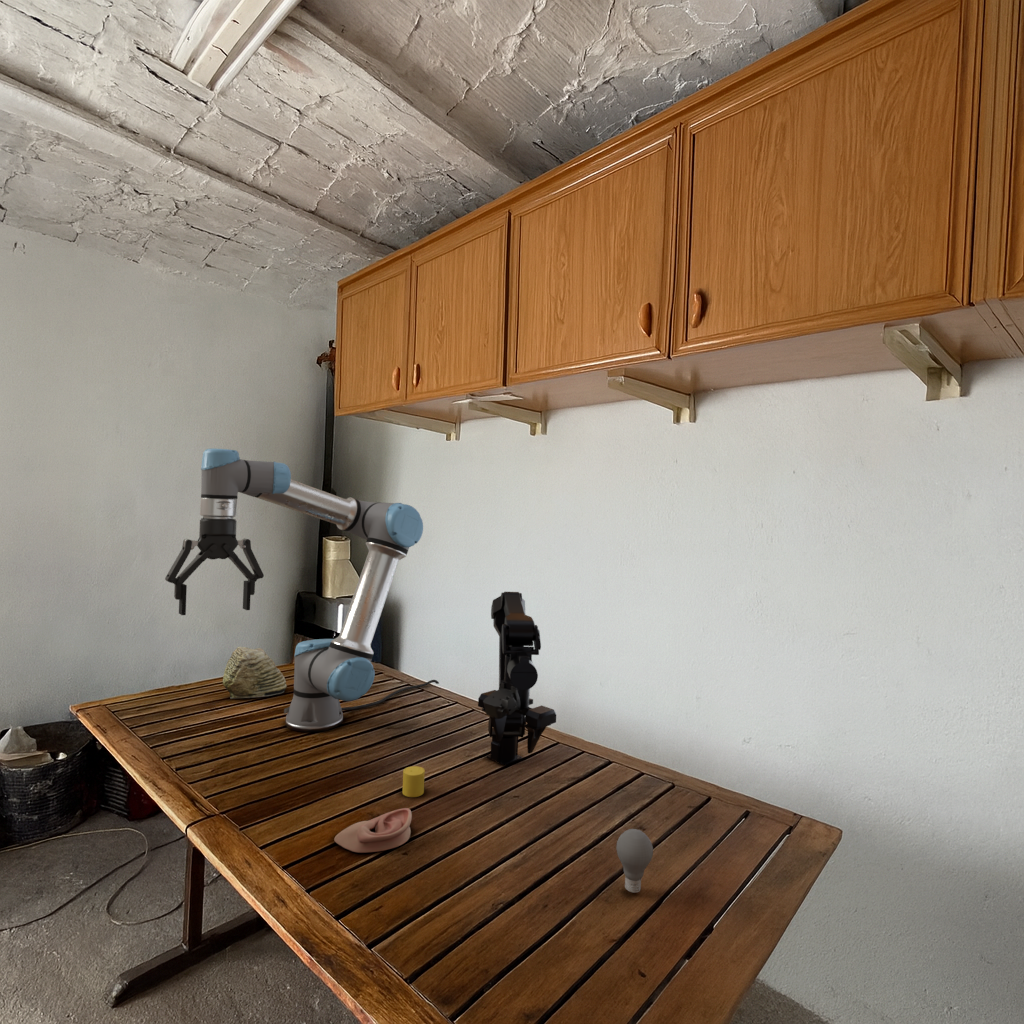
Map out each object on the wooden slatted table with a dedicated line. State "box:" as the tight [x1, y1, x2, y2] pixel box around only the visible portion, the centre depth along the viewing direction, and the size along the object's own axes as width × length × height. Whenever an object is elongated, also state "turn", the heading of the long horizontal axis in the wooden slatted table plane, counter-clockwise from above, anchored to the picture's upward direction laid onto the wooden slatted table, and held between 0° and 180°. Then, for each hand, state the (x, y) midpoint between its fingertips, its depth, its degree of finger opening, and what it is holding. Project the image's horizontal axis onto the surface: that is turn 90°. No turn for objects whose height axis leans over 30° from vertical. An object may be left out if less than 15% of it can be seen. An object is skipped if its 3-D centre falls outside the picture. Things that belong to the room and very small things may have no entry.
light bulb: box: [615, 828, 654, 894], centre depth 106 cm, size 6×6×10 cm
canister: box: [401, 765, 426, 798], centre depth 138 cm, size 5×5×5 cm
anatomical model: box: [333, 807, 413, 854], centre depth 119 cm, size 13×4×12 cm
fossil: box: [222, 646, 288, 699], centre depth 198 cm, size 9×18×15 cm, turn 132°
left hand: (215, 611), depth 143 cm, fingers open, 13 cm apart
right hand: (514, 746), depth 140 cm, fingers open, 9 cm apart
